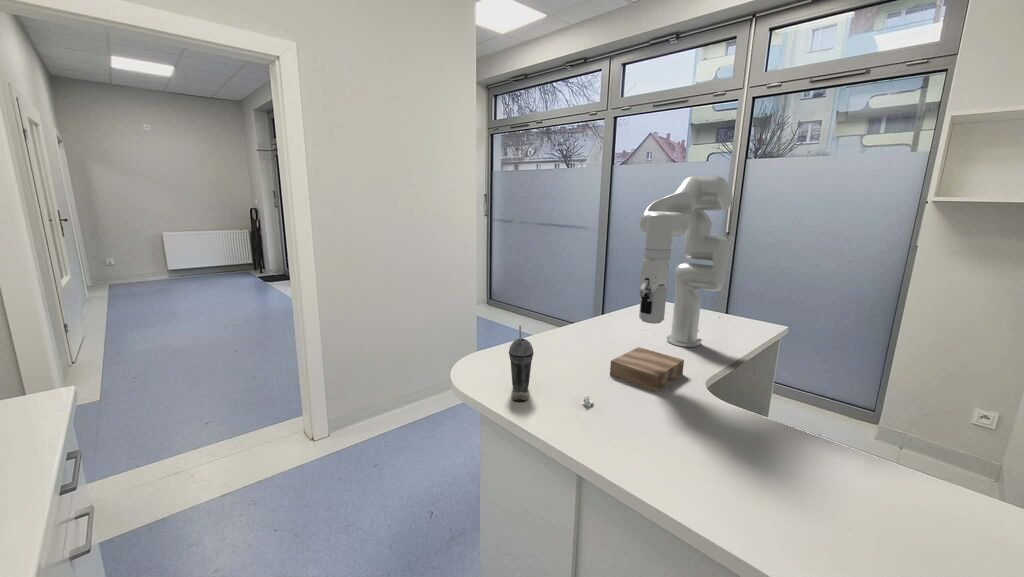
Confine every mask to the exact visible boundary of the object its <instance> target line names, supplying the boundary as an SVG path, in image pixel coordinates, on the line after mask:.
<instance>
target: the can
mask: <svg viewBox="0 0 1024 577" xmlns="http://www.w3.org/2000/svg"><path fill="white" fill-rule="evenodd" d="M666 288H667V287H666ZM666 288H665V284H664V285H663V286H658V289H657V290H656V292H655V293H653V296H652V299H651V301H652V308H651V314H646V313H642V312H641V299H640V302H639V313H638V317H639V319H640V320H641V322H644V323H646V324H651V325H652V324H654V325H655V324H660V323H661V322H663V321H664V320H665V315H666V314H665V313H666V305H667V304H666V303H667V294H668V289H666ZM646 290H648V291H651V289H649V288H647V289H646ZM647 294H648V296H649V294H650V293H647Z"/></svg>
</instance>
